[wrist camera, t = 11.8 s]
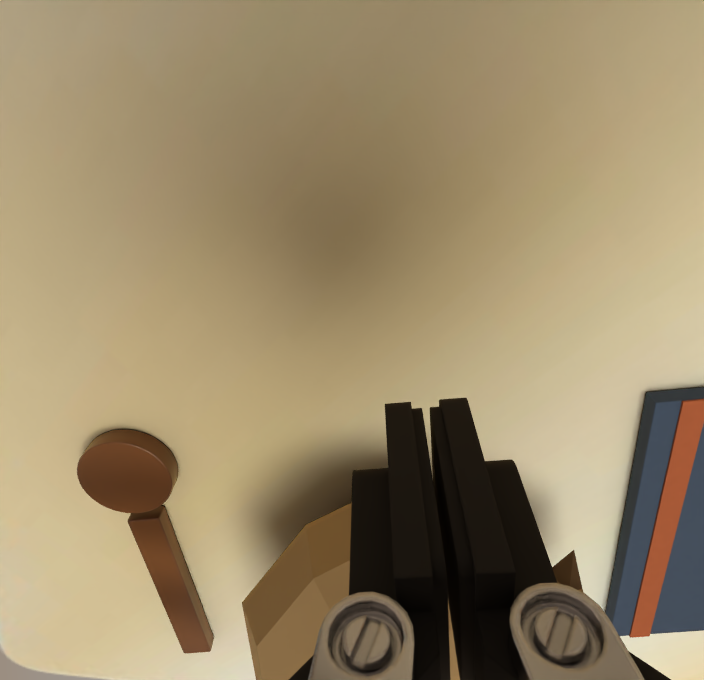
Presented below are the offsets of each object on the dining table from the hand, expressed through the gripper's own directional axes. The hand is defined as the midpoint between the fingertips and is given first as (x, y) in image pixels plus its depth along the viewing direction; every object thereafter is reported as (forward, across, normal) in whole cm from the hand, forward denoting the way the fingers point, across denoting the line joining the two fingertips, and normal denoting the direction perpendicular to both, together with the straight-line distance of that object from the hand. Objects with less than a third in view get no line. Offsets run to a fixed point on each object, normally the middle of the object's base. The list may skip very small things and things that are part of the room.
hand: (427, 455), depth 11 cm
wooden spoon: (+8, +12, +12) cm, 19 cm away
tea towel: (+9, -14, +14) cm, 21 cm away
